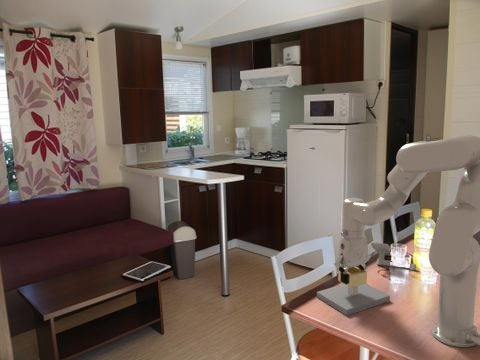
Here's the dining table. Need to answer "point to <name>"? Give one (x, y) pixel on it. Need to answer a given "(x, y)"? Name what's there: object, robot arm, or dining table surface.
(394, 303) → the dining table surface
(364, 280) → the collar
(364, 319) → the dining table surface
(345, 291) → the post stand
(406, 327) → the dining table surface
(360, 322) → the dining table surface
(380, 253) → the door handle
